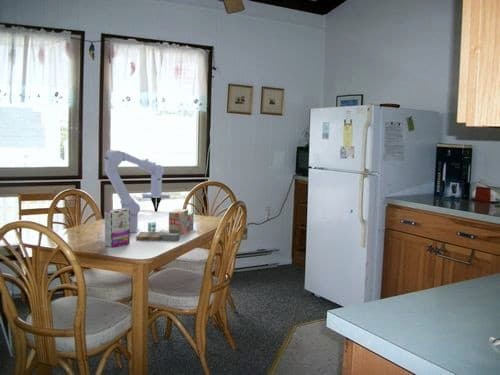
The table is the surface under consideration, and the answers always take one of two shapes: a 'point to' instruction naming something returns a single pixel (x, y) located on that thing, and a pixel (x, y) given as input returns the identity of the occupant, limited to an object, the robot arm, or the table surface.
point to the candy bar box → (117, 227)
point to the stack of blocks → (181, 221)
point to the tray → (171, 236)
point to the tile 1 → (164, 232)
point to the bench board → (148, 236)
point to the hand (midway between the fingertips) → (156, 211)
